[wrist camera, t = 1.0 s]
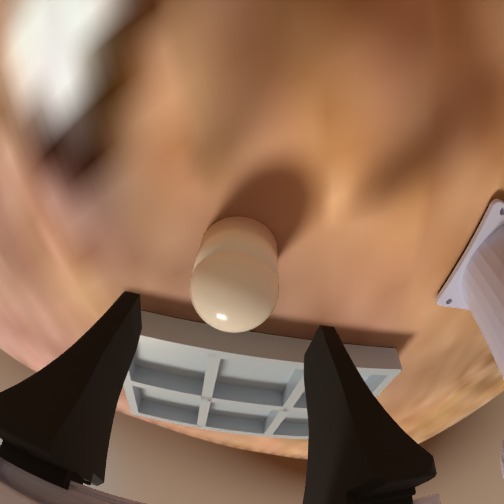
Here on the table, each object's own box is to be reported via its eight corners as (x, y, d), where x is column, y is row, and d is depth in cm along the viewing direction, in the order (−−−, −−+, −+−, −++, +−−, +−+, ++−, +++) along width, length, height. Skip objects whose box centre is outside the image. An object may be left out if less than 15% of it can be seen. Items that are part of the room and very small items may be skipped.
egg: (286, 224, 16) (292, 294, 12) (267, 284, 18) (267, 356, 14) (205, 209, 15) (184, 274, 11) (197, 271, 18) (179, 341, 14)
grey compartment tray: (395, 348, 21) (402, 369, 20) (329, 422, 29) (330, 439, 27) (119, 305, 20) (110, 327, 18) (136, 396, 27) (131, 413, 26)
